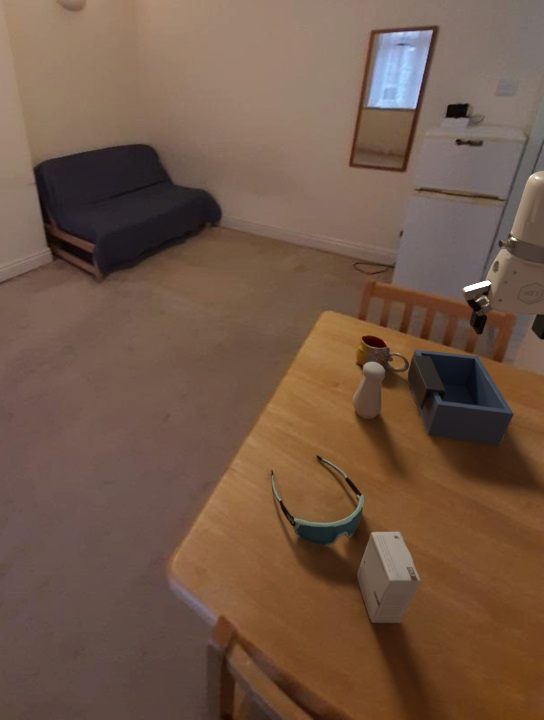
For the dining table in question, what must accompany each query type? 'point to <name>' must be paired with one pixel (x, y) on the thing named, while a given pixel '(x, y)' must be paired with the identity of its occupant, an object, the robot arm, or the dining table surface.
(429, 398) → the box
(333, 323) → the dining table surface
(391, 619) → the cosmetic box
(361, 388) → the salt shaker
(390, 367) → the mug
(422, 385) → the black channel
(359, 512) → the sunglasses
